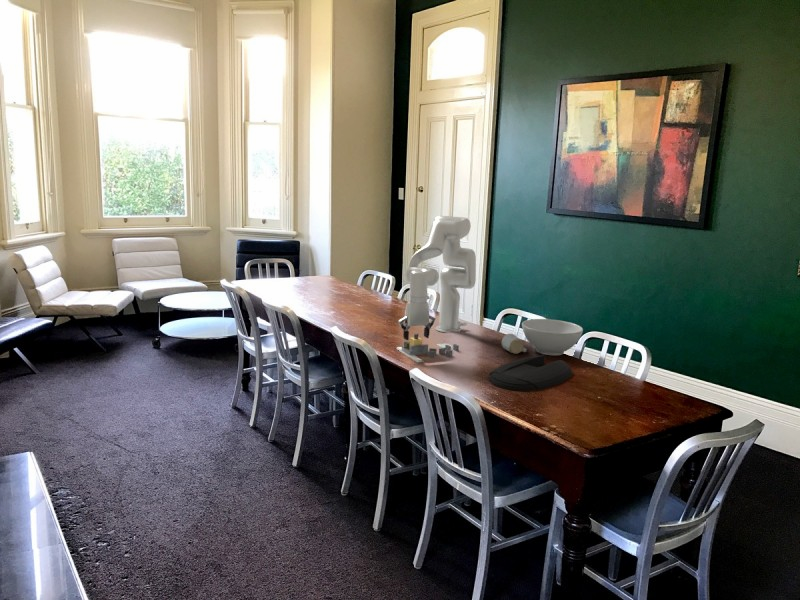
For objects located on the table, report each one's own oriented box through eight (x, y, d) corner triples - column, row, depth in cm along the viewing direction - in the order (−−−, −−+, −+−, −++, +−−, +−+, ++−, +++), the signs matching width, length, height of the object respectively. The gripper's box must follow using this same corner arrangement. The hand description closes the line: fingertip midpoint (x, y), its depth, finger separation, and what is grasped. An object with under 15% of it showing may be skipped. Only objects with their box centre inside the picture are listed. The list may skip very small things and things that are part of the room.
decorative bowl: (521, 341, 295) (523, 316, 292) (579, 347, 288) (582, 322, 286) (517, 356, 269) (519, 329, 267) (580, 363, 263) (583, 336, 260)
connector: (417, 350, 267) (418, 332, 265) (421, 352, 263) (422, 334, 262) (409, 351, 265) (410, 333, 264) (413, 353, 262) (414, 335, 260)
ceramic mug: (509, 355, 270) (511, 338, 268) (500, 349, 277) (502, 333, 276) (530, 354, 273) (532, 337, 272) (521, 349, 281) (522, 333, 279)
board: (445, 345, 281) (446, 337, 280) (469, 357, 264) (469, 349, 263) (396, 349, 270) (397, 341, 270) (417, 362, 253) (417, 354, 252)
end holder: (419, 348, 269) (419, 339, 269) (427, 353, 262) (428, 344, 262) (401, 350, 266) (402, 341, 265) (409, 355, 259) (410, 346, 258)
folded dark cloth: (473, 380, 235) (474, 368, 234) (526, 360, 265) (527, 349, 264) (530, 398, 219) (531, 385, 218) (580, 374, 249) (582, 362, 248)
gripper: (431, 296, 267) (429, 334, 271) (395, 298, 259) (394, 337, 263) (440, 300, 260) (438, 338, 264) (403, 302, 253) (401, 342, 257)
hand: (416, 338), depth 264 cm, fingers open, 9 cm apart
